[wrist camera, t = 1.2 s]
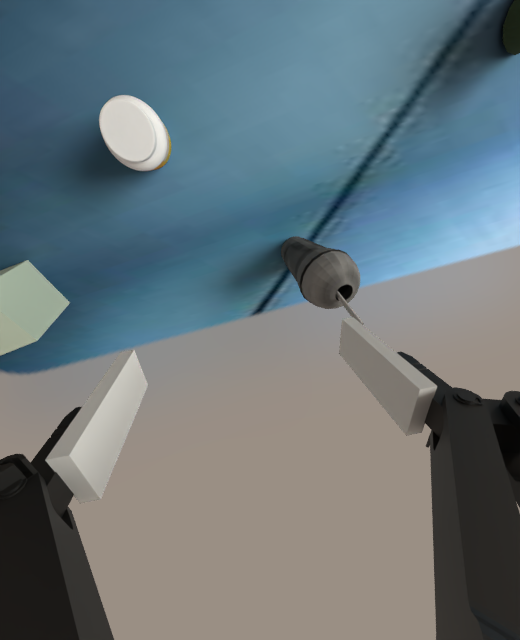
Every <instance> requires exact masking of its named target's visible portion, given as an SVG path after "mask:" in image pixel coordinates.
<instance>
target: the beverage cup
mask: <svg viewBox="0 0 520 640" xmlns="http://www.w3.org/2000/svg"><path fill="white" fill-rule="evenodd" d="M281 256H282V258H283V260H284V262H285V264H286V265H287V267H288V268H289V270H290V272H291V273H292V275H293V276H294V278H295V279H296V281H297V282H298V285H299V288H300V291H301V293H302V295H303V297H304V298H305V299H306V300H308V301H309V302H310V303H312V304H314V305H315V306H318V307H321V308H325V309H333V308H338V307H341V306H344V307H345V308H346V310H347V311H348V312H349V314H350V315H351V316H352V317H354V318H355V319H356V320H357V321H358V322H360V323H361V324H362V325H363V322H362V321H361V319H360V318H359V317H358V316H357V314H356V313H355V312H354V311H353V310H352V308H351V307H350V306H349V304H348V302H350V300H352V299H353V298H354V296H355V295H356V293H357V291H358V288H359V285H360V273H359V270H358V267H357V265H356V264H355V262H354V261H353V260H352V259H351V257H350V256H349V255H348V254H347V253H346V252H343V251H341V250H335V249H331V248H325V247H323V246H321V245H318V244H316V243H314V242H311V241H309V240H306V239H304V238H300V237H291V238H289V239H288V240H286V242H285V243H284V244H283V246H282V249H281Z"/></svg>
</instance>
